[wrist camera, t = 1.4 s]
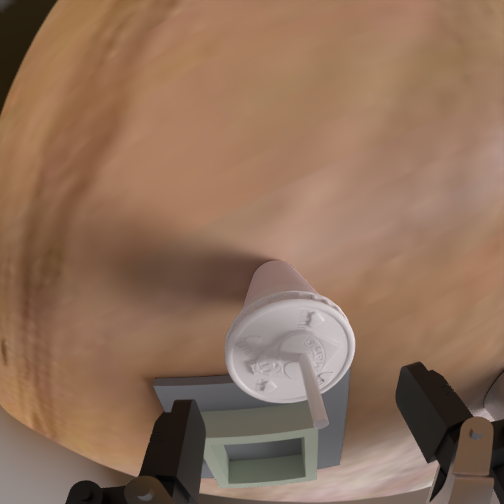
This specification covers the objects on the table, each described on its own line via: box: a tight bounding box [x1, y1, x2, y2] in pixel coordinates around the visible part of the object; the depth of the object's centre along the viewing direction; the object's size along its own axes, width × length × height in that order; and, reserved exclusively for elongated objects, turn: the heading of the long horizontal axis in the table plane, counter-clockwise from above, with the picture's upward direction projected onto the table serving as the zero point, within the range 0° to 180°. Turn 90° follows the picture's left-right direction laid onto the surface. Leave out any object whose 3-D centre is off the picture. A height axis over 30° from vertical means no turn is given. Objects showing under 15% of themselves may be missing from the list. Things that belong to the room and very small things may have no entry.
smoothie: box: [225, 260, 355, 429], centre depth 15 cm, size 6×6×14 cm
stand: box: [153, 367, 350, 488], centre depth 25 cm, size 18×18×5 cm
